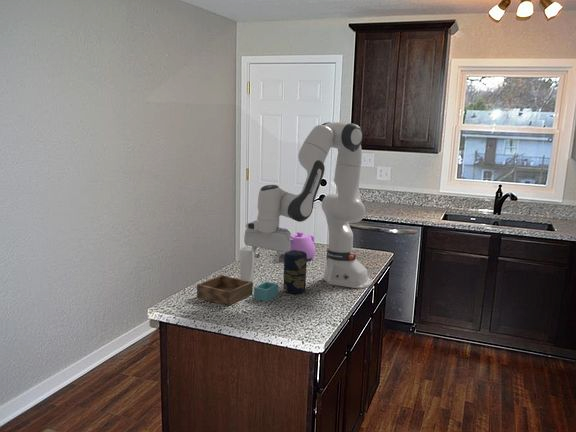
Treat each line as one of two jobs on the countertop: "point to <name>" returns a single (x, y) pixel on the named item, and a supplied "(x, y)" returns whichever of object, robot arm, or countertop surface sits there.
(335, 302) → the countertop surface
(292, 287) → the canister
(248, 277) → the white cup
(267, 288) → the teal crate
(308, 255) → the teapot
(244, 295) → the walnut crate
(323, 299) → the countertop surface
